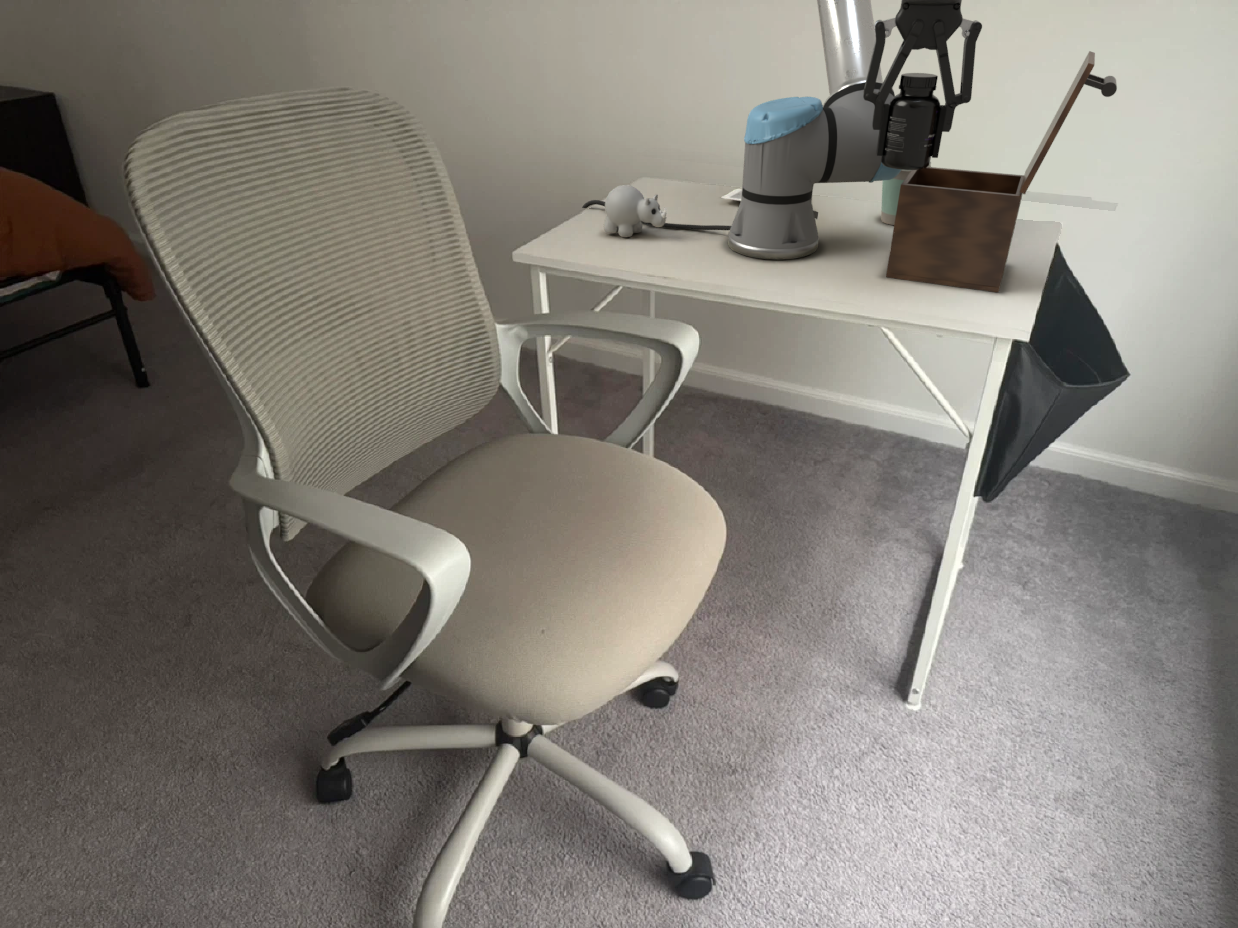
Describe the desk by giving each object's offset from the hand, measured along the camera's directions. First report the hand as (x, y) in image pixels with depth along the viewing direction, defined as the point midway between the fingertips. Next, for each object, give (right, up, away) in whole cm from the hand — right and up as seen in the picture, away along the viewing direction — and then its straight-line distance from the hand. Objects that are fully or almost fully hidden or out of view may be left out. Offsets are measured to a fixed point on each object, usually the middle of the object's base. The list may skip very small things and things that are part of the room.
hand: (906, 154), depth 123 cm
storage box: (+11, -14, +14) cm, 22 cm away
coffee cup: (+11, +1, +37) cm, 38 cm away
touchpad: (-13, +7, +47) cm, 49 cm away
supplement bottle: (0, -1, +1) cm, 2 cm away
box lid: (+20, +4, -2) cm, 20 cm away
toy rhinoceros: (-38, -3, +31) cm, 49 cm away
